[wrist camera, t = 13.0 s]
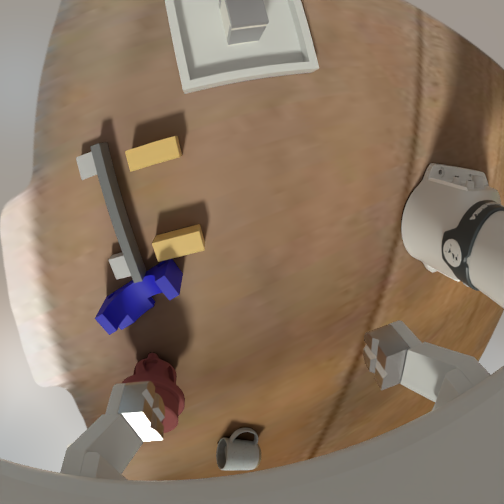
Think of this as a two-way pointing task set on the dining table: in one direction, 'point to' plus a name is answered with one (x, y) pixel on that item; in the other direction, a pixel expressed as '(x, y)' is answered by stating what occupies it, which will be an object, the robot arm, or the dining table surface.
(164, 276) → the cable clip
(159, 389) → the mechanical component
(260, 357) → the dining table surface
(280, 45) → the parts tray
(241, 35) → the grey rectangular box
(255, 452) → the ceramic mug
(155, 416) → the robot arm
